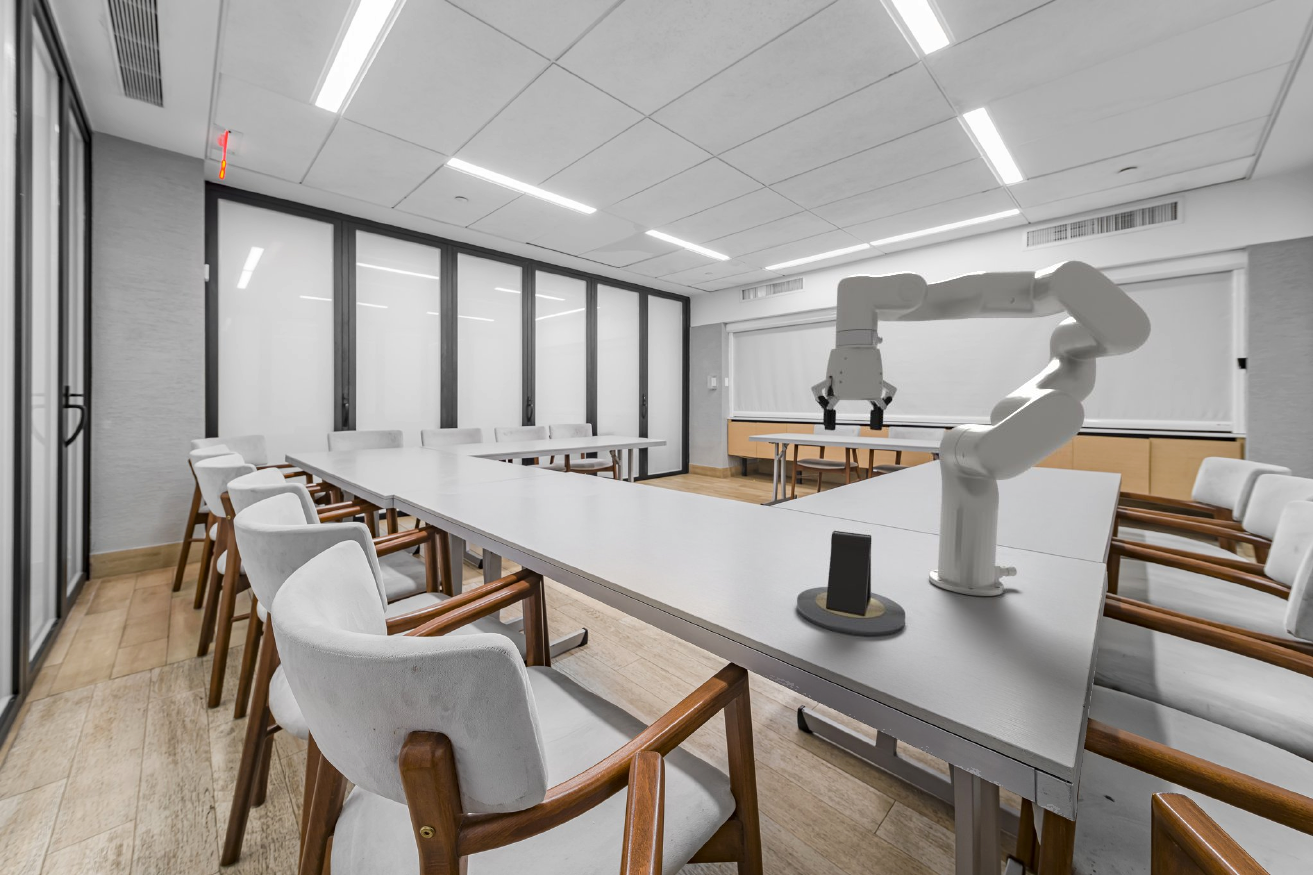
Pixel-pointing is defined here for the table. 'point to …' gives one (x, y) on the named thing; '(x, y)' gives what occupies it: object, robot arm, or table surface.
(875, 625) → the rosette plate
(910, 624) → the table surface
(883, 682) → the table surface
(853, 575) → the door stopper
